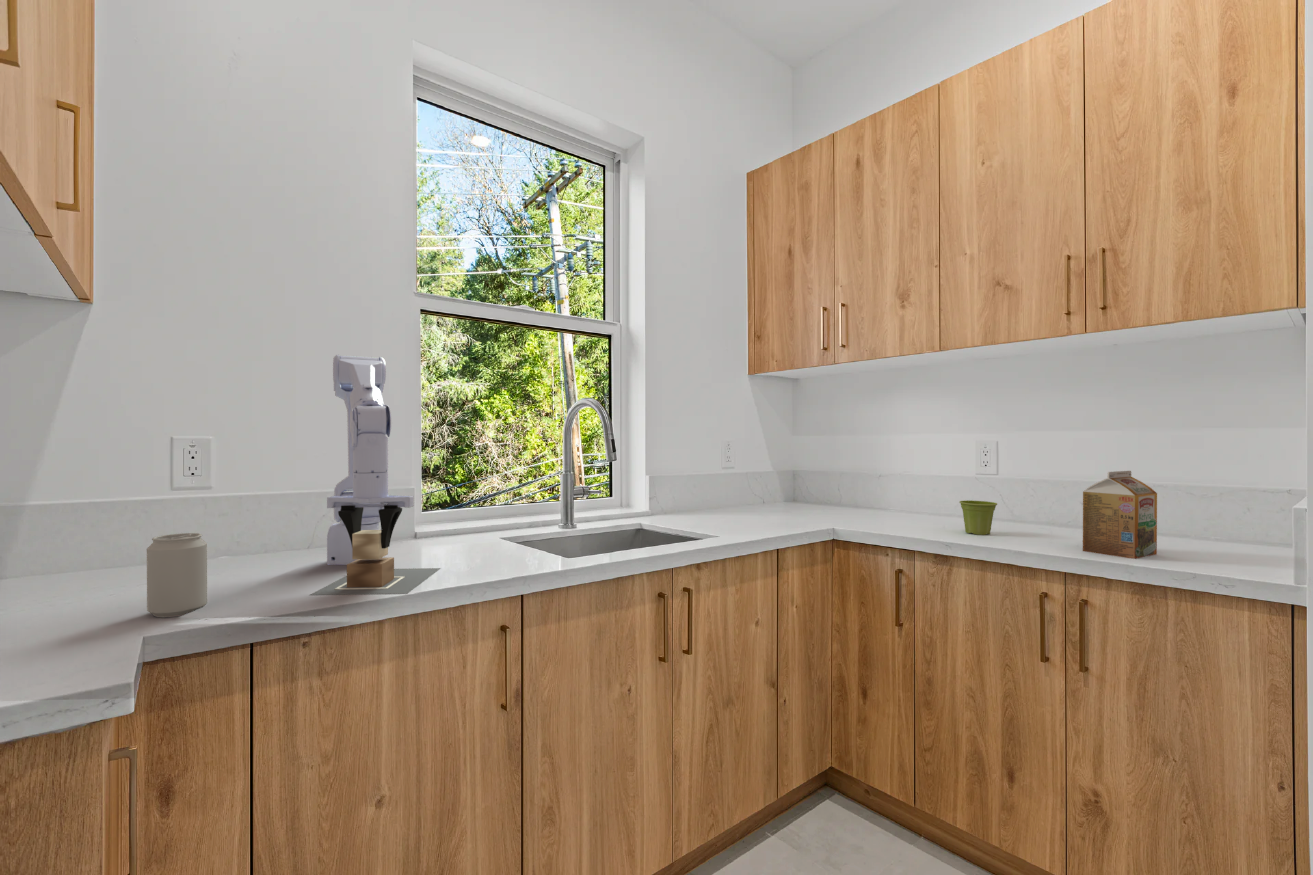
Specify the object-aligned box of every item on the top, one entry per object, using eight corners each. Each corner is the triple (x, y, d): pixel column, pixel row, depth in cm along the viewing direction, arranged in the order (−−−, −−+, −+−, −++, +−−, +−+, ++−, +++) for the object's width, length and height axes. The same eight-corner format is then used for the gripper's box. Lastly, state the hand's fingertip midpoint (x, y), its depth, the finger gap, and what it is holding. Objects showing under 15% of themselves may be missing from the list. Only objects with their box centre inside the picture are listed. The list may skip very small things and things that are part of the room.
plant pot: (990, 531, 178) (990, 500, 178) (1002, 536, 169) (1002, 504, 169) (955, 530, 180) (955, 500, 180) (964, 535, 171) (964, 503, 171)
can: (156, 608, 100) (155, 532, 100) (212, 603, 103) (212, 530, 103) (139, 621, 93) (138, 540, 93) (200, 615, 96) (199, 537, 96)
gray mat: (309, 599, 105) (309, 594, 105) (359, 573, 125) (359, 568, 125) (407, 598, 106) (407, 592, 106) (440, 572, 126) (440, 567, 126)
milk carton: (1134, 558, 139) (1135, 473, 139) (1082, 551, 148) (1083, 470, 148) (1156, 554, 145) (1157, 471, 144) (1105, 547, 154) (1105, 469, 154)
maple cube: (352, 559, 111) (352, 533, 111) (362, 554, 115) (362, 529, 115) (378, 559, 111) (378, 533, 111) (388, 554, 115) (387, 529, 115)
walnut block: (346, 587, 110) (346, 564, 110) (360, 579, 116) (360, 557, 116) (381, 586, 111) (381, 564, 110) (394, 578, 117) (394, 557, 116)
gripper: (318, 473, 109) (319, 552, 109) (404, 473, 110) (404, 551, 110) (337, 471, 116) (337, 544, 116) (417, 471, 117) (417, 544, 117)
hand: (371, 547), depth 113 cm, fingers closed on maple cube, 4 cm apart
